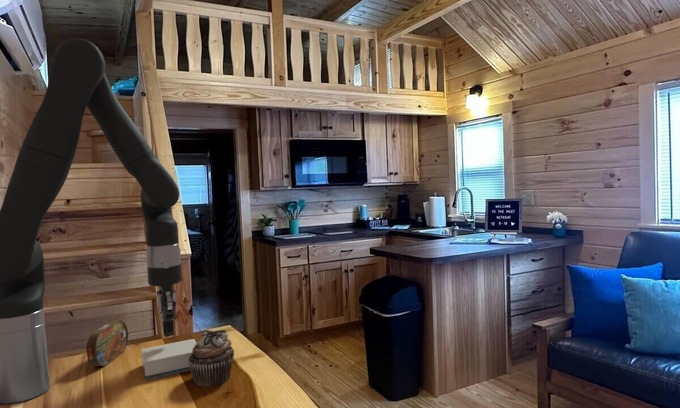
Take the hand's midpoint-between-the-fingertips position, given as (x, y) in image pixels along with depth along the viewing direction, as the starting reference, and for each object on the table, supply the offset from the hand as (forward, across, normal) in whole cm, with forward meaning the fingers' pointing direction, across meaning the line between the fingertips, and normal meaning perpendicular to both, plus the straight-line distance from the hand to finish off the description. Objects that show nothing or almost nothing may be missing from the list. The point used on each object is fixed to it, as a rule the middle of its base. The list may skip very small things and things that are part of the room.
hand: (168, 335), depth 108 cm
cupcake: (+7, +14, +7) cm, 17 cm away
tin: (+7, -11, -13) cm, 18 cm away
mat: (+6, +4, 0) cm, 8 cm away
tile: (+4, -2, 0) cm, 5 cm away
